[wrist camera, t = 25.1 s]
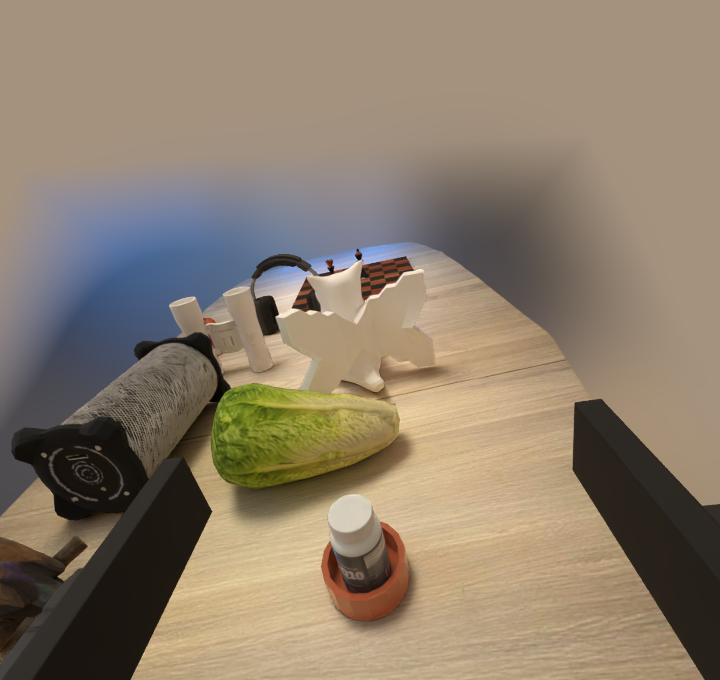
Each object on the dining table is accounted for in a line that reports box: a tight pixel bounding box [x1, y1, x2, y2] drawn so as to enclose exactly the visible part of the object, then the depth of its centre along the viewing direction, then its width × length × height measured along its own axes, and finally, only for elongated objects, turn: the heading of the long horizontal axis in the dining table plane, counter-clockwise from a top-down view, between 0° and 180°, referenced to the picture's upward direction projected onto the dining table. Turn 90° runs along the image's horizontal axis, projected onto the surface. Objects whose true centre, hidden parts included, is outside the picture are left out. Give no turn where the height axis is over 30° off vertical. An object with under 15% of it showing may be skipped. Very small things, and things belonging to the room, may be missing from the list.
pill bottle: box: [328, 494, 391, 593], centre depth 34 cm, size 5×5×8 cm
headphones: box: [250, 254, 321, 334], centre depth 98 cm, size 22×6×20 cm, turn 79°
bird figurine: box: [0, 536, 88, 650], centre depth 38 cm, size 13×10×20 cm
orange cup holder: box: [321, 522, 409, 621], centre depth 35 cm, size 8×8×3 cm
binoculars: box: [169, 287, 273, 375], centre depth 80 cm, size 17×5×18 cm, turn 88°
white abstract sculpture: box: [276, 260, 436, 394], centre depth 67 cm, size 25×21×21 cm
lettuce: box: [211, 383, 400, 489], centre depth 50 cm, size 14×24×14 cm
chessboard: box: [292, 249, 414, 311], centre depth 127 cm, size 40×40×11 cm
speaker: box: [12, 332, 231, 520], centre depth 59 cm, size 15×28×15 cm, turn 176°
